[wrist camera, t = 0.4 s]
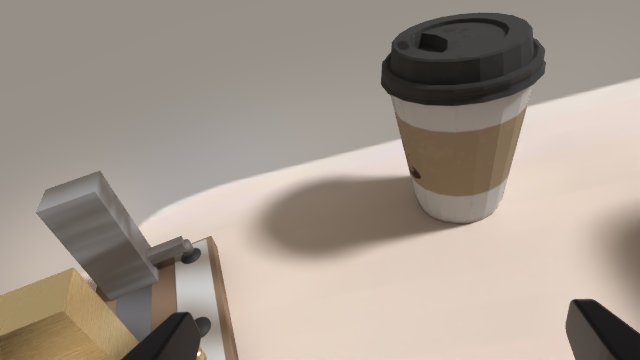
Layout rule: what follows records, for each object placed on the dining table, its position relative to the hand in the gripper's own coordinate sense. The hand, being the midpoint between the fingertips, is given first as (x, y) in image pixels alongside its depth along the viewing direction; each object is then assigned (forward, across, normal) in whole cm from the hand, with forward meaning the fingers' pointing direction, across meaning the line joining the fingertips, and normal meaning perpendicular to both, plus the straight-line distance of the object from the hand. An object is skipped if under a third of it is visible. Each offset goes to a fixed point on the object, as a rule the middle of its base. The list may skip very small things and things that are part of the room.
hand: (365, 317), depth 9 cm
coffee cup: (+25, -7, +14) cm, 29 cm away
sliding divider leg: (+7, +16, +14) cm, 22 cm away
